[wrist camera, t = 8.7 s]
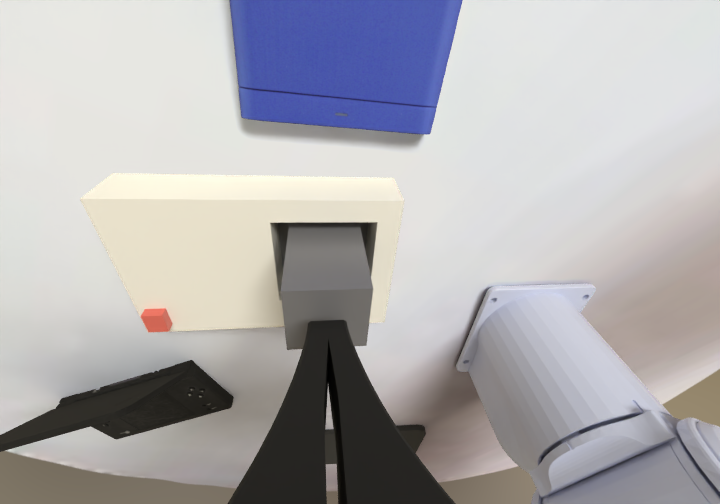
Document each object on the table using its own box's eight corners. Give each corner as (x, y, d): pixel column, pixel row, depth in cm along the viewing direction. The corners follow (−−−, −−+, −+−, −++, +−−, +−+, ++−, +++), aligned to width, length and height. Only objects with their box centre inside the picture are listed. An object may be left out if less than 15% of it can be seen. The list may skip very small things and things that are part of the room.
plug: (353, 260, 19) (366, 345, 14) (294, 262, 18) (287, 349, 13) (356, 210, 17) (373, 288, 12) (290, 210, 16) (280, 291, 11)
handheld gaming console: (134, 457, 27) (-11, 575, 17) (97, 383, 28) (-67, 455, 18) (247, 396, 26) (164, 481, 16) (207, 320, 27) (102, 358, 17)
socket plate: (377, 292, 21) (385, 328, 18) (165, 299, 19) (144, 339, 17) (393, 177, 16) (407, 206, 14) (112, 173, 14) (72, 204, 12)
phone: (280, 435, 30) (428, 429, 33) (280, 427, 31) (426, 420, 33) (281, 467, 35) (412, 459, 37) (281, 458, 35) (410, 451, 38)
